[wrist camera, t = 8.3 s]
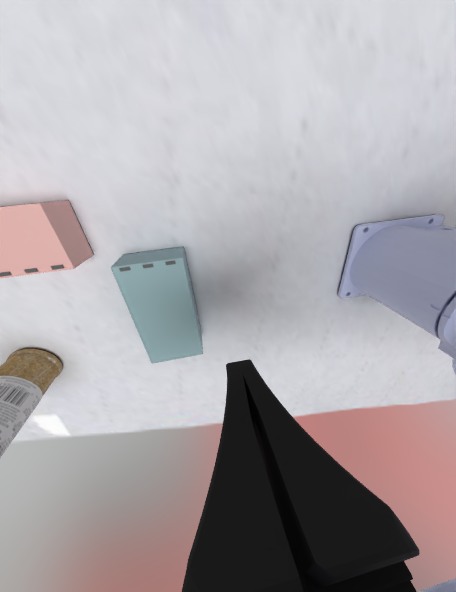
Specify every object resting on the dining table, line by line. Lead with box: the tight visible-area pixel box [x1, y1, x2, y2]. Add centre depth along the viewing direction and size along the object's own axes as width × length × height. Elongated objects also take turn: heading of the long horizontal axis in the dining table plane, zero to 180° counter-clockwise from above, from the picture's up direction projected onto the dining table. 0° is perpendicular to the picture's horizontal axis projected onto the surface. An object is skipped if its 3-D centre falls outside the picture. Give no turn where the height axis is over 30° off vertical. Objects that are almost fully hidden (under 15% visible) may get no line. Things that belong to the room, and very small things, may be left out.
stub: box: [0, 200, 93, 278], centre depth 13 cm, size 5×4×3 cm
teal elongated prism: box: [111, 247, 203, 363], centre depth 17 cm, size 5×10×3 cm, turn 5°
